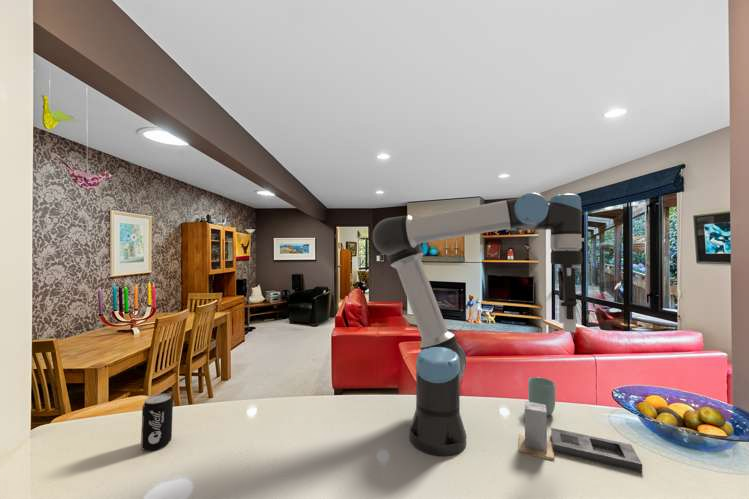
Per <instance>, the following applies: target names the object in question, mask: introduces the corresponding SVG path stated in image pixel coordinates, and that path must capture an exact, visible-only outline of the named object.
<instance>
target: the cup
mask: <svg viewBox="0 0 749 499" xmlns="http://www.w3.org/2000/svg"><path fill="white" fill-rule="evenodd" d="M527 391H528V392H527V393H528V394H527V396H528V402H533V403H539V404H544V405H546V411H547V416H550V415H552V414H553V413H554V411H555V407H556V384H555V382H554V381H553V380H551V379H549V378H545V377H540V376H539V377H537V376H534V377H533V376H532V377H528V381H527Z"/></svg>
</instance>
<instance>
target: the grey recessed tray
mask: <svg viewBox="0 0 749 499" xmlns="http://www.w3.org/2000/svg"><path fill="white" fill-rule="evenodd" d="M550 430H551V431H550V434H551V442H552V443H553V451H554V453H555V454H560V455H564V456H569V457H573V458H577V459H581V460H585V461H590V462H594V463H598V464H603V465H606V466H610V467H614V468H618V469H624V470H627V471H631V472H636V473H639V474H643V463H642V461H641V460H640V458H639V456H638V454H637V453H636V451H635V449H634V446H633V445H632V444H630V443H625V442H622V441H615V440H610V439H608V438H607V439H606V438H602V437H596V436H592V435H587V434H583V433H578V432H573V431H568V430H567V431H566V430H563V429H559V428H553V427H551V429H550ZM594 448H599V449H604V450H607V451H613V452H617V453H619V455H620V456H618V455H614V454H610V453H606V452H601V451H597V450H594Z"/></svg>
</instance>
